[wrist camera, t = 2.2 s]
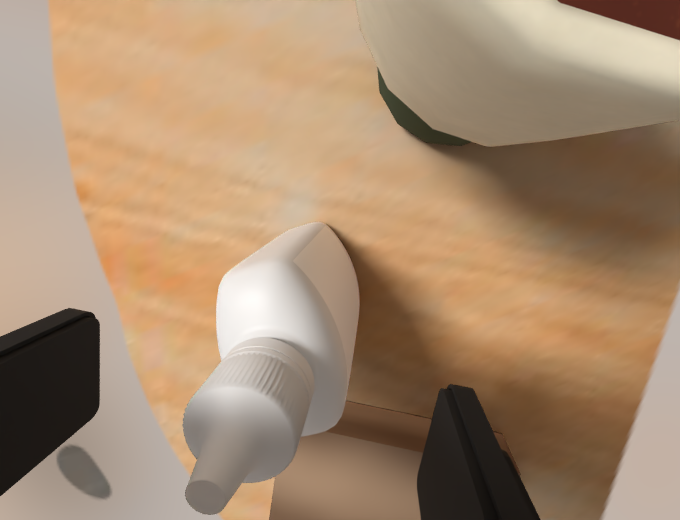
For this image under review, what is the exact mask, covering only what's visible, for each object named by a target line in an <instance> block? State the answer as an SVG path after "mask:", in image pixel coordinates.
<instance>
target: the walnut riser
mask: <svg viewBox="0 0 680 520" xmlns="http://www.w3.org/2000/svg"><path fill="white" fill-rule="evenodd" d="M431 421H432V419H429V418H424V417H420V416H415V415H410V414H405V413H401V412H396V411H391V410H386V409H382V408H377V407H372V406H367V405H363V404H358V403H353V402H348V401H346V402H345V406H344V410H343V413H342V416H341V418H340V419H339V421H338V422H337V424H336V425H335V426H334V427H332V428H330V429H328V430H327V431H324V432H321V433H317V434H313V435H308V436H302V437H301V438H300V441H299V445H298V448H297V451H296V454H295V456H294V458H293V459H292V462H291V463H290V464H289V466H288V467H286V468H285V470H284V471H282V472H281V473H280V474H278V475H277V476H275V481H274V489H273V496H272V503H271V510H270V517H269V520H421V515H420V508H419V500H418V493H417V475H418V470H419V467H420V463H421V459H422V455H423V451H424V448H425V444H426V440H427V436H428V432H429V428H430V425H431ZM493 433H494V435H495V437H496V439H497V441H498V443H499V445H500V448H501V449H502V450H504V451H506V452H507V453H508V455H509V456H510V458H511V460H512V462H513V464H514V466H515V468H516V470H517V472H518V474H519V476H520V472H519V470H518V467H517V465H516V463H515V461H514V459H513V456H512V454H511V452H510V450H509V448H508V446H507V443H506V441H505V439H504V437H503V435H502V434H500V433H495V432H493Z"/></svg>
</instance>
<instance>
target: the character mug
mask: <svg viewBox="0 0 680 520" xmlns="http://www.w3.org/2000/svg"><path fill="white" fill-rule="evenodd" d="M356 7H357V14H358V21H359V27H360V30H361V32H362V34H363V37H364V39H365V41H366V43H367V45H368V47H369V49H370V52H371V54H372V56H373V58H374V60H375V62H376V64H377V68H378V79H379V90H380V94H381V95H382V97H383V99H384V101H385V102H386V104H387V106H388V108H389V109H390V111H391V113H392V115H393V116H394V118H395V120H396V122H397V124H399V125H400V126H402V127H403V128H405V129H406V130H408V131H409V132H411V133H412V134H414V135H415V136H417V137H418V138H420V139H421V140H423V141H424V142H426V143H435V144H446V145H456V146H462V145H465V144H467V143H470V142H474V143H477V144H480V145H483V146H488V147H494V146H504V145H513V144H523V143H533V142H542V141H552V140H559V139H565V138H572V137H578V136H584V135H591V134H597V133H603V132H610V131H616V130H622V129H629V128H635V127H641V126H647V125H654V124H660V123H666V122H673V121H679V120H680V0H356Z"/></svg>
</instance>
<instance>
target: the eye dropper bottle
mask: <svg viewBox="0 0 680 520" xmlns="http://www.w3.org/2000/svg"><path fill="white" fill-rule="evenodd" d="M359 308H360V298H359V287H358V281H357V277H356V273H355V270H354V267H353V264H352V262H351V259H350V257H349V255H348V253H347V251H346V249H345V247H344V246H343V244H342V243H341V241H340V240H339V238H338V237H337V236H336V234H335V233H334V232H333V231H332V230H331V229H330V228H329V226H328V225H326V224H324V223H322V222H312V223H308V224H305V225H301V226H298V227H295V228H292V229H289V230H287V231H285V232H284V233H282V234H281V235H279V236H278V237H276V238H275V239H273V240H272V241H270V242H269V243H267V244H266V245H265V246H263V247H262V248H260V249H259V250H257V251H256V252H254V253H253V254H251V255H250V256H249V257H247V258H246V259H244V260H243V261H241V262H240V263H239V264H237V265H236V266H235V267H233V268H232V269H231V270H229V271H228V272H227V273H226V274H225V275H224V276H223V279H222V281H221V283H220V286H219V290H218V296H217V307H216V328H217V339H218V347H219V352H220V357H221V363H220V364H219V365H218V366H217V367H216V369H215V370H214V371H213V372H212V374H211V375H210V376H209V377H208V378H207V380H206V381H205V382H204V383H203V385H202V386H201V387H200V388H199V389H198V391H197V392H196V393H195V394H194V395H193V397H192V398H191V399H190V402H189V403H188V404H187V408H186V409H185V413H184V418H183V428H184V429H183V431H184V436H185V439H186V442H187V444H188V446H189V448H190V450H191V452H192V454H193V455H194V456H195V458H196V459H197V461H196V464H195V467H194V469H193V472H192V475H191V477H190V480H189V483H188V485H187V488H186V492H185V496H186V500H187V502H188V503H189V505H190V506H191V507H192V508H193V509H195V510H196V511H198V512H200V513H203V514H208V515H211V514H217V513H219V512H221V511H222V510H223V509H224V507H225V506H226V505H227V503H228V502H229V500H230V499H231V498H232V496H233V495H234V493H235V492H236V490H237V489H238V488H239V486H240V485H241V483H255V482H261V481H265V480H268V479H271V478H272V477H275V476H277V475H278V474H280V473H281V472H282V471H284V470H285V468H286V467H288V466H289V464H290V463H291V462H292V459H293V458H294V456H295V454H296V451H297V448H298V445H299V441H300V438H301V437H302V436H308V435H313V434H317V433H321V432H324V431H327V430H328V429H330V428H332V427H334V426H335V425H336V424H337V422H338V421H339V419H340V418H341V416H342V413H343V410H344V406H345V402H346V397H347V391H348V386H349V380H350V373H351V367H352V360H353V354H354V347H355V340H356V333H357V326H358V319H359Z"/></svg>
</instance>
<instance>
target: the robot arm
mask: <svg viewBox="0 0 680 520" xmlns="http://www.w3.org/2000/svg"><path fill="white" fill-rule="evenodd" d="M99 369H100V324H99V321H98V320H97V319H96V318H95V315H94V314H93V313H91V312H87V311H82V310H77V309H71V308H68V309H65V310H62V311H60V312H58V313H55V314H53V315H50V316H48V317H46V318H43V319H41V320H39V321H36V322H34V323H31V324H29V325H27V326H24V327H22V328H20V329H17V330H15V331H13V332H10V333H8V334H6V335H3V336H1V337H0V496H1V495H2V494H4V493H5V492H6V491H7V490H8V489H9V488H11V487H12V486H13V485H14V484H15V483H16V482H18V481H19V480H20V479H21V478H22V477H24V476H25V475H26V474H27V473H28V472H30V471H31V470H32V469H33V468H34V467H35V466H37V465H38V464H39V463H40V462H41V461H43V460H44V459H45V458H46V457H47V456H48V455H50V454H51V453H52V452H53V451H54V450H55V449H57V448H58V447H59V446H60V445H61V444H63V443H64V442H65V441H66V440H67V439H68V438H70V437H71V436H72V435H73V434H74V433H75V432H77V431H78V430H79V429H80V428H81V427H83V426H84V425H85V424H86V423H87V422H89V421H90V420H91V419H92V418H93V417H94V416H95V414H96V412H97V411H98V408H99V397H100V393H99V392H100V390H99V388H100V387H99V385H100V383H99V382H100V379H99V377H100V370H99ZM417 493H418V500H419V508H420V515H421V520H540V518H539V516H538V514H537V512H536V509H535V507H534V505H533V503H532V501H531V499H530V497H529V495H528V493H527V491H526V489H525V487H524V485H523V483H522V480H521V478H520V476H519V474H518V472H517V470H516V468H515V466H514V464H513V462H512V460H511V458H510V456H509V455H508V453H507V452H506V451H504V450H502V449H501V448H500V445H499V443H498V441H497V439H496V437H495V435H494V433H493V430H492V428H491V426H490V424H489V422H488V420H487V417H486V415H485V413H484V411H483V409H482V407H481V404H480V402H479V400H478V398H477V396H476V394H475V392H474V390H473V389H472V388H468V387H463V386H458V385H453V384H450V385H448V387H447V389H444V388H441V389H440V391H439V394H438V398H437V402H436V406H435V409H434V413H433V417H432V421H431V425H430V428H429V432H428V436H427V440H426V444H425V448H424V451H423V455H422V459H421V463H420V467H419V470H418V475H417Z"/></svg>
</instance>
